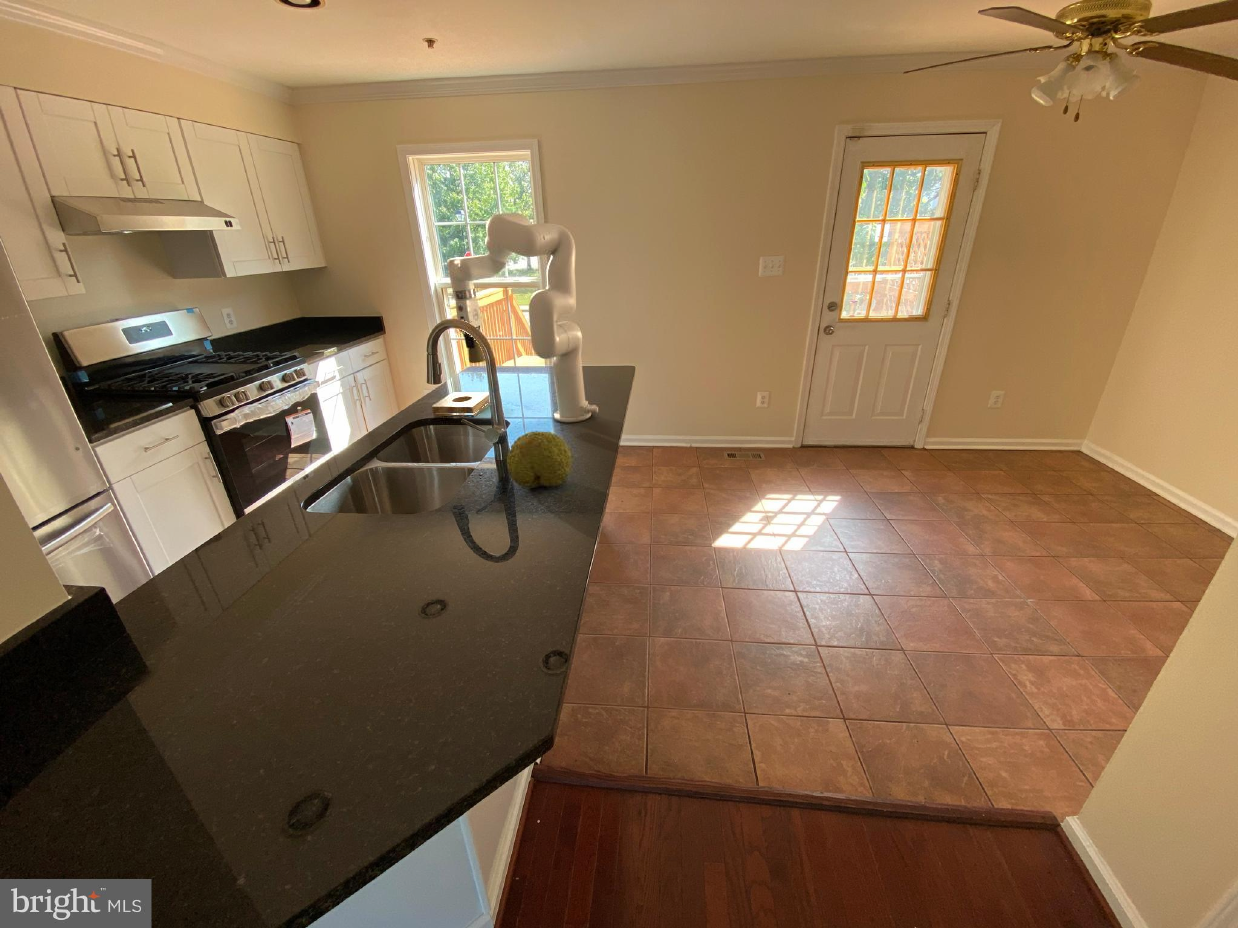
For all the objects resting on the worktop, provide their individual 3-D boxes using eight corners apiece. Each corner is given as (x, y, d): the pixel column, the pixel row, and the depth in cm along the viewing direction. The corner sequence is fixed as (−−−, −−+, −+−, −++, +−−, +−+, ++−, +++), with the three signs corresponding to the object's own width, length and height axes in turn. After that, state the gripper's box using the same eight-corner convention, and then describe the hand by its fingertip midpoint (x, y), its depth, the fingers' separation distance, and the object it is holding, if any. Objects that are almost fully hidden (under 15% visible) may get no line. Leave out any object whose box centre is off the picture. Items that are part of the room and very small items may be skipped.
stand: (493, 402, 191) (491, 392, 189) (474, 417, 177) (472, 406, 175) (455, 402, 194) (453, 392, 192) (433, 416, 180) (431, 406, 178)
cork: (476, 363, 184) (470, 333, 179) (465, 362, 188) (459, 332, 183) (488, 359, 188) (483, 330, 184) (478, 358, 192) (473, 329, 187)
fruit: (520, 506, 118) (490, 449, 116) (526, 497, 132) (500, 446, 131) (581, 475, 119) (553, 418, 117) (581, 470, 133) (555, 419, 131)
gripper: (463, 298, 169) (473, 351, 177) (484, 291, 184) (493, 340, 192) (443, 299, 171) (454, 351, 179) (466, 292, 186) (475, 341, 194)
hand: (474, 345), depth 185 cm, fingers closed on cork, 5 cm apart
